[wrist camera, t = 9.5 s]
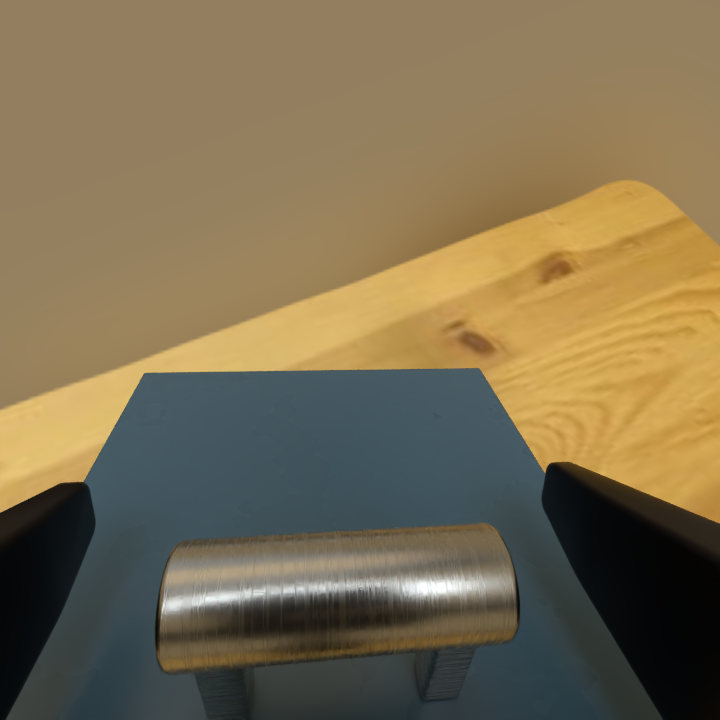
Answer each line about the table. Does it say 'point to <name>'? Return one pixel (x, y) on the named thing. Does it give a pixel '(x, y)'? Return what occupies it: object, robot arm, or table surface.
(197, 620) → the blue-grey box lid
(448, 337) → the table surface
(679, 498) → the table surface
